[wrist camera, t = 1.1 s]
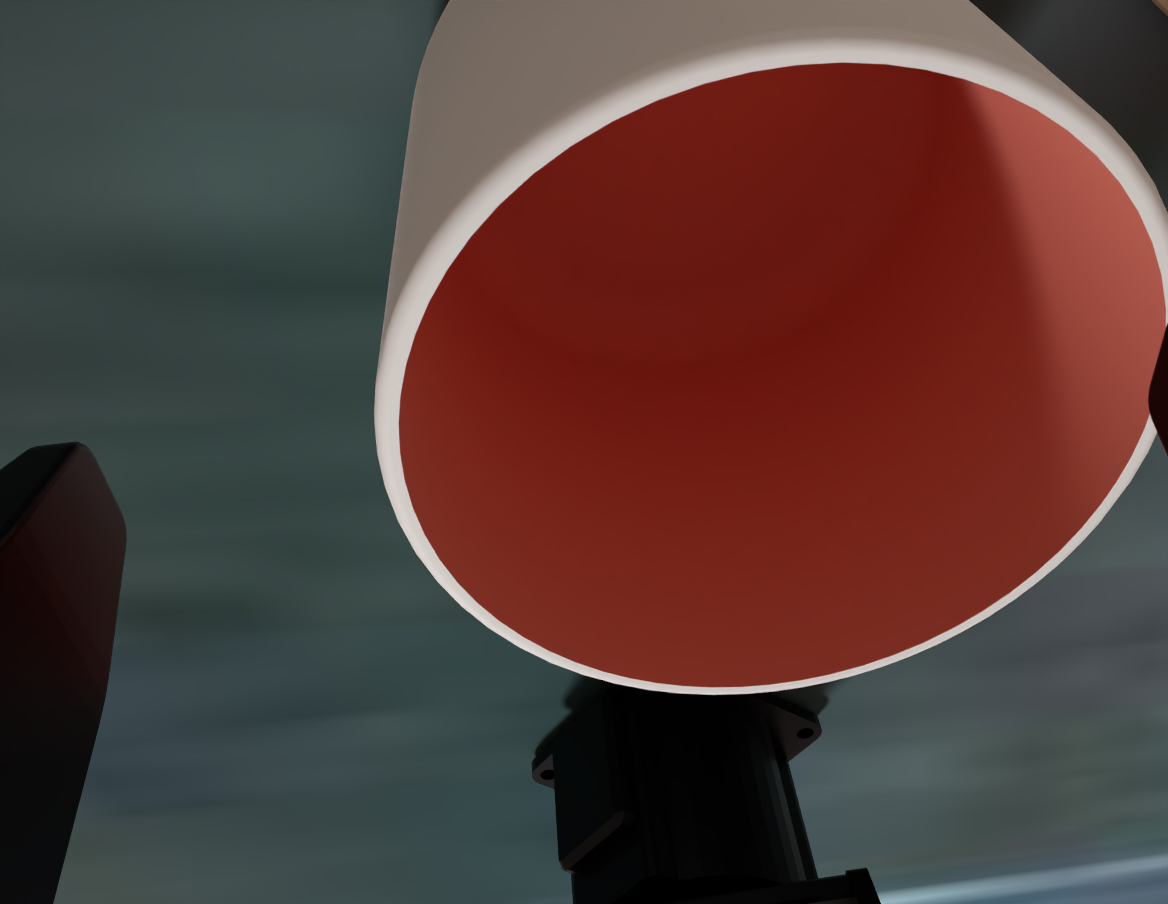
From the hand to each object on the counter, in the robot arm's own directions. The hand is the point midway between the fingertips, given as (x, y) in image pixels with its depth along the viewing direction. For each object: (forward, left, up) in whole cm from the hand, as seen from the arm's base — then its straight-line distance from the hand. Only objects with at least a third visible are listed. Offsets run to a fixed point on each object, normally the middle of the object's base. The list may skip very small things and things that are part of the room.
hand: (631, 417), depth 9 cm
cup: (-4, +1, -14) cm, 14 cm away
